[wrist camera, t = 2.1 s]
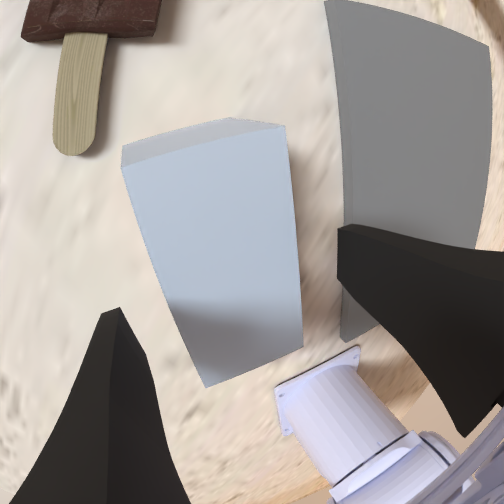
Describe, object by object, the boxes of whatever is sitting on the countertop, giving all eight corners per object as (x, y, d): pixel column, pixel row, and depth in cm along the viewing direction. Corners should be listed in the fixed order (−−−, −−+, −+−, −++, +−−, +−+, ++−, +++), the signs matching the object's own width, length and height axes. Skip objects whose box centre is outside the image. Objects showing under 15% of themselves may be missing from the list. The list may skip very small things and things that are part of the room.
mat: (466, 258, 27) (471, 261, 26) (339, 336, 22) (345, 343, 21) (481, 45, 15) (488, 46, 15) (324, 1, 10) (333, -2, 10)
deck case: (256, 286, 17) (303, 346, 13) (178, 315, 15) (205, 388, 11) (227, 117, 12) (284, 125, 8) (122, 145, 11) (120, 167, 7)
